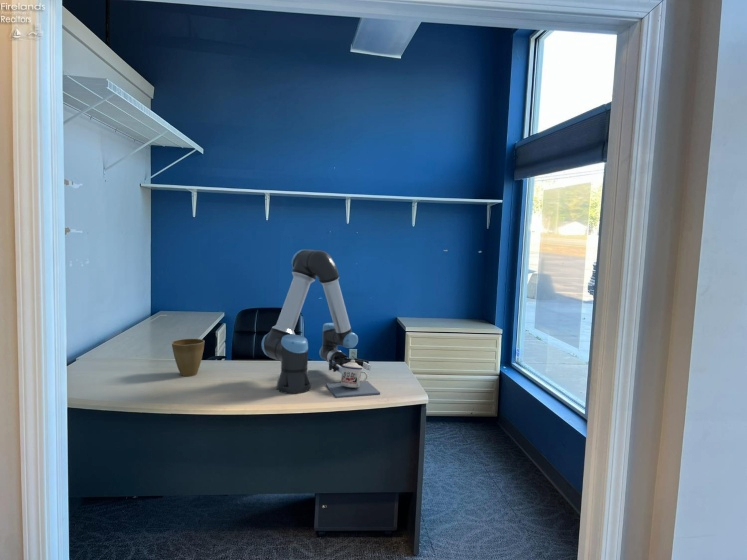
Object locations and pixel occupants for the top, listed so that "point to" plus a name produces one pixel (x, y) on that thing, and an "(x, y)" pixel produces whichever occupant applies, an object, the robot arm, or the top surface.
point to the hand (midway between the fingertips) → (356, 369)
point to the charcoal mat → (352, 390)
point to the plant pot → (188, 355)
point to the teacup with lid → (352, 375)
